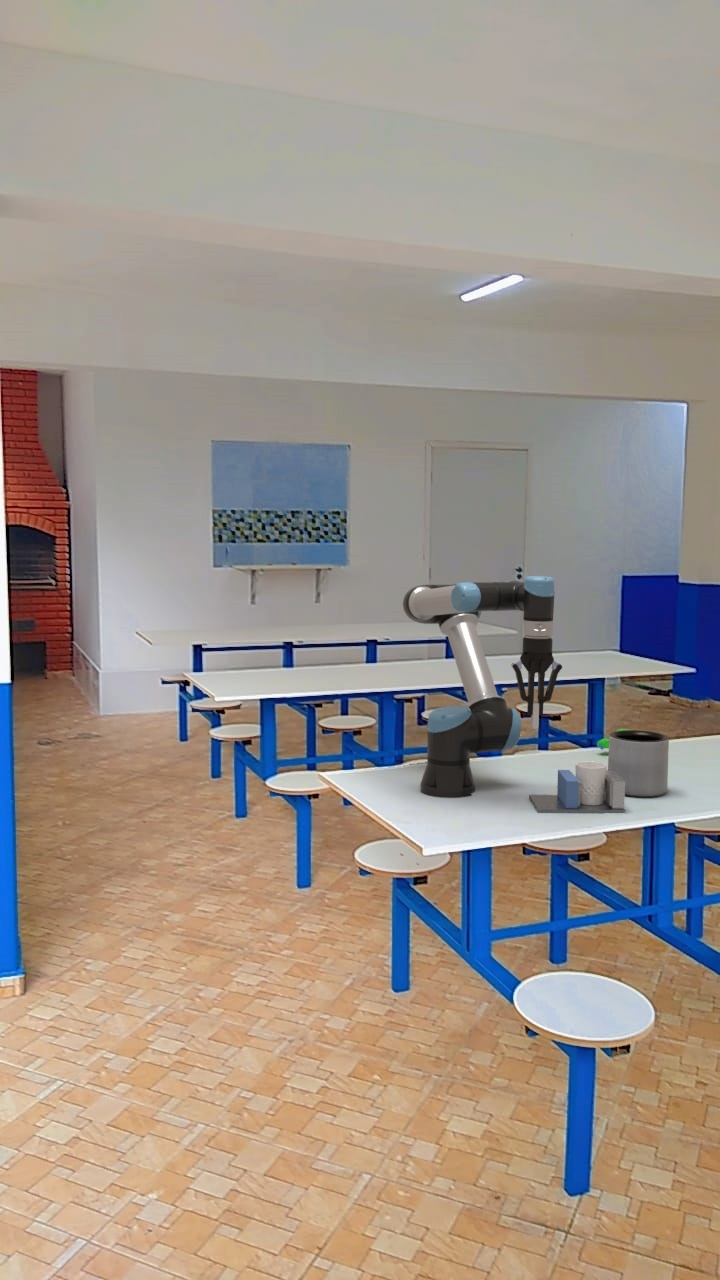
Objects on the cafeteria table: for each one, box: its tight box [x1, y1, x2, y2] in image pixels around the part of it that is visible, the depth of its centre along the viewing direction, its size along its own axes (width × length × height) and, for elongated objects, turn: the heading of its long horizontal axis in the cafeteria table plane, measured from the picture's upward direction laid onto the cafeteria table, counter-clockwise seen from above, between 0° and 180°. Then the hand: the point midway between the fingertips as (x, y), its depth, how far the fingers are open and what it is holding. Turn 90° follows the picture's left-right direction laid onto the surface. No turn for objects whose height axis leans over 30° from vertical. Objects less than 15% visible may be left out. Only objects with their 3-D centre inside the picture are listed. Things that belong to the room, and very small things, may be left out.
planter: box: [607, 729, 670, 798], centre depth 276 cm, size 16×16×16 cm
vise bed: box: [528, 794, 626, 815], centre depth 261 cm, size 22×14×1 cm, turn 89°
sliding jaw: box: [556, 769, 580, 808], centre depth 261 cm, size 4×12×7 cm, turn 179°
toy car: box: [596, 728, 629, 751], centre depth 330 cm, size 11×7×7 cm, turn 56°
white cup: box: [575, 760, 608, 805], centre depth 261 cm, size 8×8×10 cm
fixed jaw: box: [603, 769, 626, 809], centre depth 261 cm, size 4×12×7 cm, turn 179°
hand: (534, 727), depth 260 cm, fingers closed
